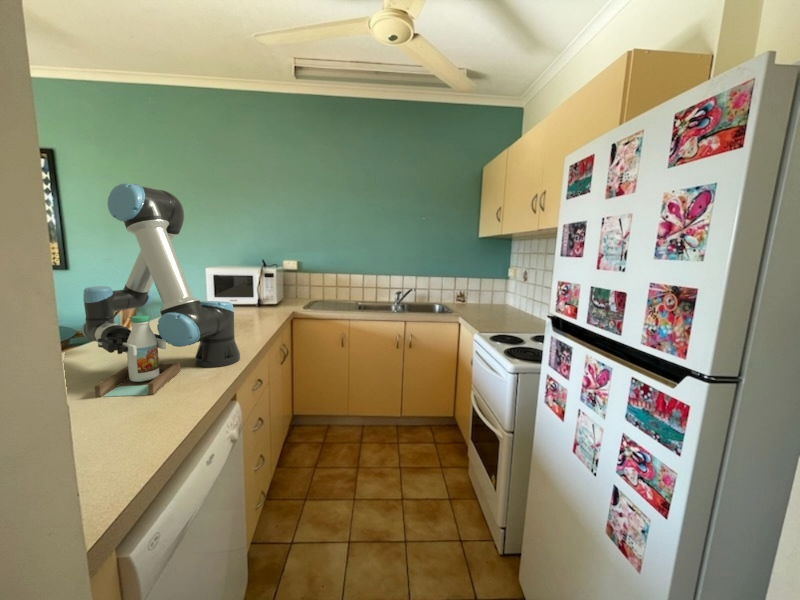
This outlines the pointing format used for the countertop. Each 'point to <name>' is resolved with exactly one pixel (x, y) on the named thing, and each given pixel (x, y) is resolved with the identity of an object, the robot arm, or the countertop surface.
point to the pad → (128, 391)
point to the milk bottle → (143, 350)
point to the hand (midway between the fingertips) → (150, 347)
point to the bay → (166, 374)
